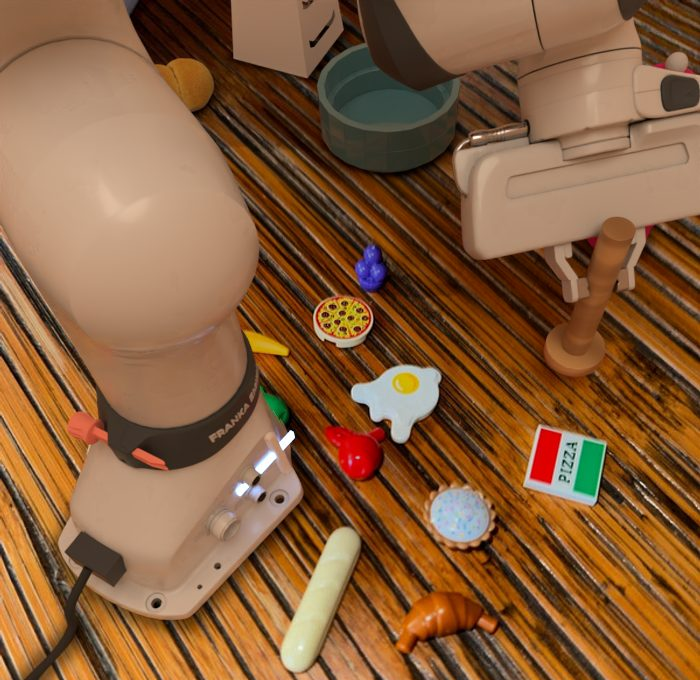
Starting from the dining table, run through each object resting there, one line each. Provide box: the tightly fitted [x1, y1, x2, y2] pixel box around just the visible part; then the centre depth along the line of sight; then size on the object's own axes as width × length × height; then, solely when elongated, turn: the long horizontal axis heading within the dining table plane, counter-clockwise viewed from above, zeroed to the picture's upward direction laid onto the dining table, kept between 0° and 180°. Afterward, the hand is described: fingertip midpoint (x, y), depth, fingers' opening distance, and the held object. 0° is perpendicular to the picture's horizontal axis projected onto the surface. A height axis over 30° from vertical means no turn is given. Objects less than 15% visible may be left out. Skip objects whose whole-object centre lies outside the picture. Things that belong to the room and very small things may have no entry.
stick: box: [543, 217, 636, 378], centre depth 62 cm, size 5×5×15 cm
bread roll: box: [154, 57, 215, 113], centre depth 92 cm, size 8×9×4 cm
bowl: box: [316, 42, 461, 174], centre depth 86 cm, size 16×16×6 cm
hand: (599, 295), depth 61 cm, fingers closed on stick, 2 cm apart
